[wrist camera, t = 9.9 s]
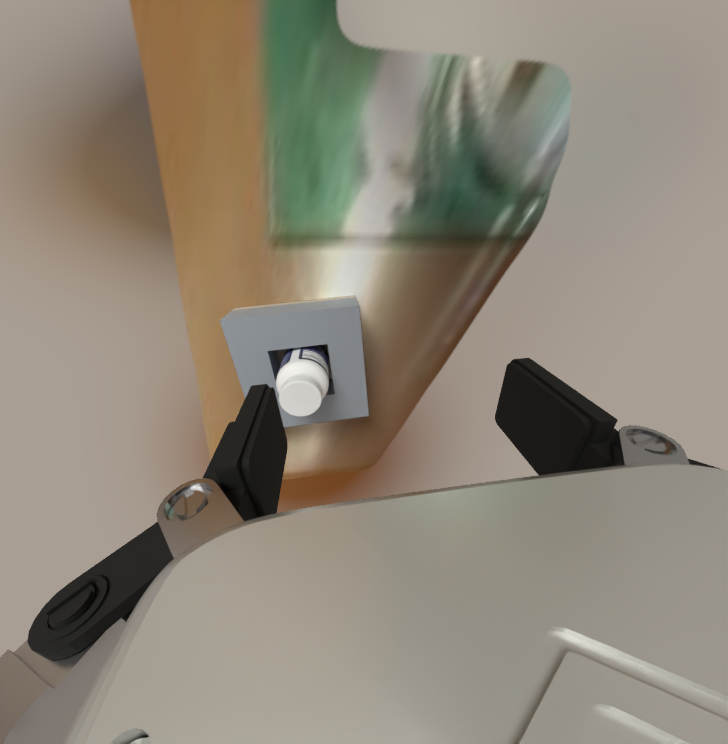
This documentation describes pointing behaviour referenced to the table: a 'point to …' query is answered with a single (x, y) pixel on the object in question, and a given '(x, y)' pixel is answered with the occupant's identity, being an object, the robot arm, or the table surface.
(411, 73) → the table surface
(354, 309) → the socket block
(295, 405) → the pill bottle
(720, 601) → the robot arm
